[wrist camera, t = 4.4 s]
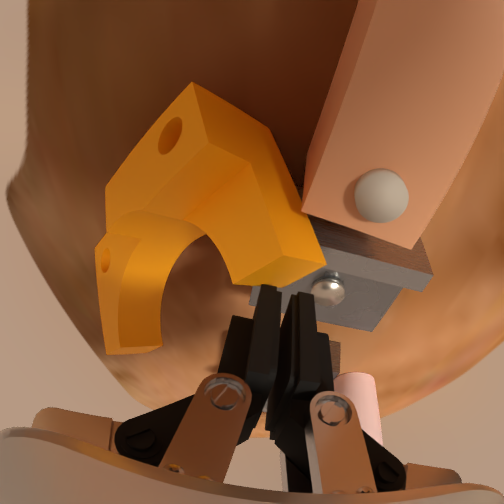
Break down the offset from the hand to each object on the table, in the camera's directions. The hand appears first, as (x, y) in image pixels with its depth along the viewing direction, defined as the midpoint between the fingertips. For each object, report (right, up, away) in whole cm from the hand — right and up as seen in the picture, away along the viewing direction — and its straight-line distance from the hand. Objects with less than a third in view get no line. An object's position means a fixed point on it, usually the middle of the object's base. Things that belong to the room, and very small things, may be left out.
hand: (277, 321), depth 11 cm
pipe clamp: (-6, +6, +3) cm, 9 cm away
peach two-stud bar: (+5, +11, -2) cm, 12 cm away
